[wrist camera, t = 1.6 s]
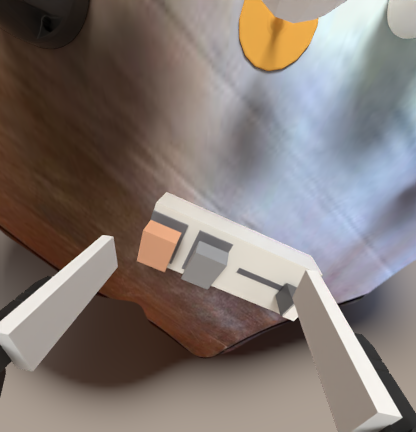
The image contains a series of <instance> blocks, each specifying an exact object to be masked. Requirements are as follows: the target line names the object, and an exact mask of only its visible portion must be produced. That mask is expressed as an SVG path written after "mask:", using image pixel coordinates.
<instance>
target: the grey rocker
mask: <svg viewBox="0 0 416 432" xmlns="http://www.w3.org/2000/svg"><path fill="white" fill-rule="evenodd" d="M228 256H229V253H227V252H225V251H223V250H220V249H218V248H216V247H213V246H211V245H209V244H206V243H204V242H202V241H199V242H198V244H197V246H196V248H195V250H194V252H193V254H192V255H191V257H190V259H189V261H188V263H187V265H186V267H185V269H184V272H183V274H182V277H181V279H182V280H185V281H187V282H190V283H192V284H195V285H197V286H200V287H202V288H205V289H207V290H208V289H209V287H210V286H211V285H212V284H213V282H214V281H215V280H216V279H217V277H218V276H219V275H220V274H221V272H222V271H223V270H224V269H225V268H226V266H227V262H228Z"/></svg>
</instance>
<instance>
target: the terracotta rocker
mask: <svg viewBox="0 0 416 432" xmlns="http://www.w3.org/2000/svg"><path fill="white" fill-rule="evenodd" d="M180 235H181V232H178V231H176V230H174V229H171V228H169V227H167V226H164V225H162V224H160V223H157V222H155V221H153V220H150V222H149V223H148V224H147V226H146V227H145V229H144V230H143V234H142V239H141V244H140V248H139V253H138V258H137V261H138V262H141V263H143V264H146V265H148V266H151V267H153V268H156V269H158V270H160V271H163V272H165V270H166V268H167V266H168V264H169V262H170V259H171V257H172V254H173V252H174V250H175V247H176V245H177V242H178V240H179V238H180Z"/></svg>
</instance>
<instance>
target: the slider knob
mask: <svg viewBox="0 0 416 432" xmlns="http://www.w3.org/2000/svg"><path fill="white" fill-rule="evenodd" d="M296 289H297V287H295V286H293V285H290V284H288V283H286V284H285V285H284V286H283V287H282V289H281V290H280V291H279V292H278V293H277V294H276V295H275V296H276V300H277V304H278V308H279V312H280V316H283V317H285V318H288V319H290V320H292V321H294V320H295V319H296V318H297V317H298V314H297V311H296V308H295V305H294V302H293V299H292V297H293V295H294V293H295V291H296Z"/></svg>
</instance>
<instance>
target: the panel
mask: <svg viewBox="0 0 416 432" xmlns="http://www.w3.org/2000/svg"><path fill="white" fill-rule="evenodd" d="M151 220H153V221H155V222H157V223H160V224H162V225H164V226H167V227H169V228H171V229H174V230H176V231H178V232H181V235H180V238H179V240H178V242H177V245H176V247H175V250H174V252H173V254H172V257H171V259H170V262H169V264H168V266H167V268H169V269H172V270H174V271H177V272H179V273H182V274H183V272H184V269H185V267H186V265H187V263H188V261H189V259H190V257H191V255H192V254H193V252H194V250H195V248H196V246H197V244H198V242H199V241H202V242H204V243H206V244H209V245H211V246H213V247H216V248H218V249H220V250H223V251H225V252H227V253H229V256H228V262H227V266H226V268H225V269H224V270H223V271H222V272H221V274H220V275H219V276H218V277H217V279H216V280H215V281H214V282H213V284H212V285H211V286H213V287H216V288H218V289H221V290H223V291H225V292H228V293H230V294H233V295H235V296H238V297H240V298H242V299H245V300H247V301H250V302H252V303H255V304H257V305H259V306H262V307H264V308H267V309H269V310H272V311H274V312H276V313H279V314H280V312H279V308H278V304H277V300H276V296H275V295H276V294H277V293H278V292H279V291H280V290H281V289H282V287H283V286H284V285H285V284H286V283H288V284H290V285H293V286H295V287H298V285H299V283H300V281H301V279H302V277H303V275H304V272H305V270H312V271H318V273H319V274H320V276H322V273H321V271H320V270H319V268H318V266H317V265H316V263H315V261H314V260H313V258H312V256H310V255H308V254H306V253H303V252H301V251H299V250H297V249H294V248H292V247H290V246H288V245H285V244H283V243H281V242H279V241H276V240H274V239H272V238H270V237H267V236H265V235H263V234H260V233H258V232H256V231H254V230H251V229H249V228H247V227H245V226H242V225H240V224H238V223H236V222H233V221H231V220H229V219H227V218H224V217H222V216H220V215H218V214H215V213H213V212H211V211H209V210H206V209H204V208H202V207H200V206H197V205H195V204H193V203H191V202H188V201H186V200H184V199H182V198H179V197H177V196H175V195H173V194H170V193H168V192H166V193H165V194H164V195H163V196H162V197H161V198H160V199H159V200H158V201H157V202H156V205H155V209H154V211H153V213H152V217H151Z"/></svg>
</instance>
